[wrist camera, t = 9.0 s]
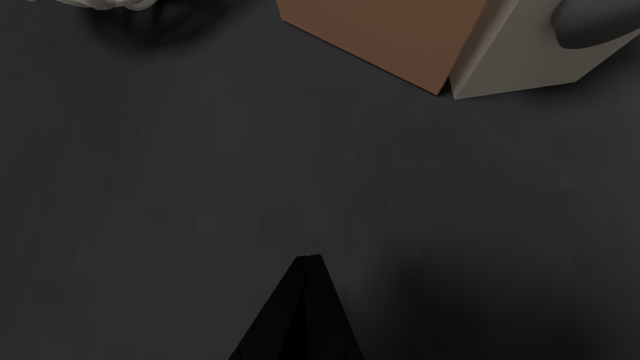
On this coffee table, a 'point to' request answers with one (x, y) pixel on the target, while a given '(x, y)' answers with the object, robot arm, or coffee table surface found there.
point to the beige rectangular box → (540, 43)
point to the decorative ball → (110, 4)
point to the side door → (393, 32)
